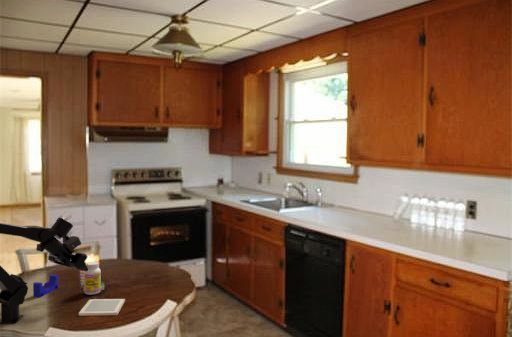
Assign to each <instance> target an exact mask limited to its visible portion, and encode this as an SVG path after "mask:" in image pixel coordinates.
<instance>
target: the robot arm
mask: <svg viewBox="0 0 512 337" xmlns="http://www.w3.org/2000/svg"><path fill="white" fill-rule="evenodd" d="M73 228H74V225H73V223H71V222H69V221H68V220H65V219H64V218H62V217H58V218H57V219H56V221H55V222H54V224H53V225H52V226H51V227H45V226H40V225H24V226H23V225H15V224H9V223H4V222H3V223H2V222H0V234H1V235H6V236H7V235H9V236H14V237H15V236H16V237H22V238H24V239H27V240H30V241H32V242H36V243H37V242H38V243H37V244H36V252H37V251H38V252H44V251H46V252H47V253H49V254H48V261H49V262H50V263H54V264H56V265H60V266H65V267H68V268H69V267H70V268H73V269H74V270H78V271H83V272H84V271H88V267H87V263H86V261H87V259H88V255H87V254H86V253H84V252H76V253H75V249H76V248H77V247H79V246H81V245H82V242H81V240H80V238H79V236H76V235H70V236H68V234H69V233H70V231H71V230H72V229H73ZM61 239H62V242H61V241H60V240H61ZM74 253H75V254H74ZM27 284H28V282H26V281H24V280H23V278H22V277H21V276H19V275H17V274H13V273H11V274H10V273H9V272H7V271H6V269H5V268H4V267H2V265H0V312H1V313H0V316H1V317H0V324H16V323H17V322H19V321H20V320H21V319H22V318H23V317H24V314H20V306H21V305H24V302H25V299H26V296H27V294H28V291H29V287H28V285H27Z"/></svg>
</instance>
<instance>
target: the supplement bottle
mask: <svg viewBox="0 0 512 337" xmlns="http://www.w3.org/2000/svg"><path fill="white" fill-rule="evenodd" d="M86 265H87V267H88V271H83V272H84V273H83V274H84V275H83V276H84V277H83V280H84V281H83V282H84V284H83V290H84V291H83V292H84V294H86V295H89V296H90V295H91V296H92V295H96V294H99V293H101V291H102V290H101V286H102V285H101V282H102V281H101V279H102V278H101V276H102V274H101V273H102V272H101V268H99V262H98V261H89V262H87V263H86Z"/></svg>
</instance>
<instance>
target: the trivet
mask: <svg viewBox="0 0 512 337" xmlns="http://www.w3.org/2000/svg"><path fill="white" fill-rule="evenodd" d="M125 302H126V298H102V299H101V298H100V299H99V298H95V299H92V298H91V299H88V301H87V302H86V304H85V305H84V306H83V307H82V308H81V309H80V311H79V312H78V316H79V317H83V316H84V317H85V316H86V317H87V316H118V314H119V312H120V311H121V309H122V308H123V306H124V304H125Z"/></svg>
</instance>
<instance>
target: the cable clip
mask: <svg viewBox="0 0 512 337" xmlns="http://www.w3.org/2000/svg"><path fill="white" fill-rule="evenodd" d="M32 286H33V287H32V289H33V292H32V293H33V294H32V295H33V298H38V299H39V298H42V297H44V296H46V295H48V294H50V293H52V292H53V291H55V290H57V289H59V274H51V275H49V280H48V281H46V282H45V283H44V284H43V282H38V281H35V282H33V284H32Z"/></svg>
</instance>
